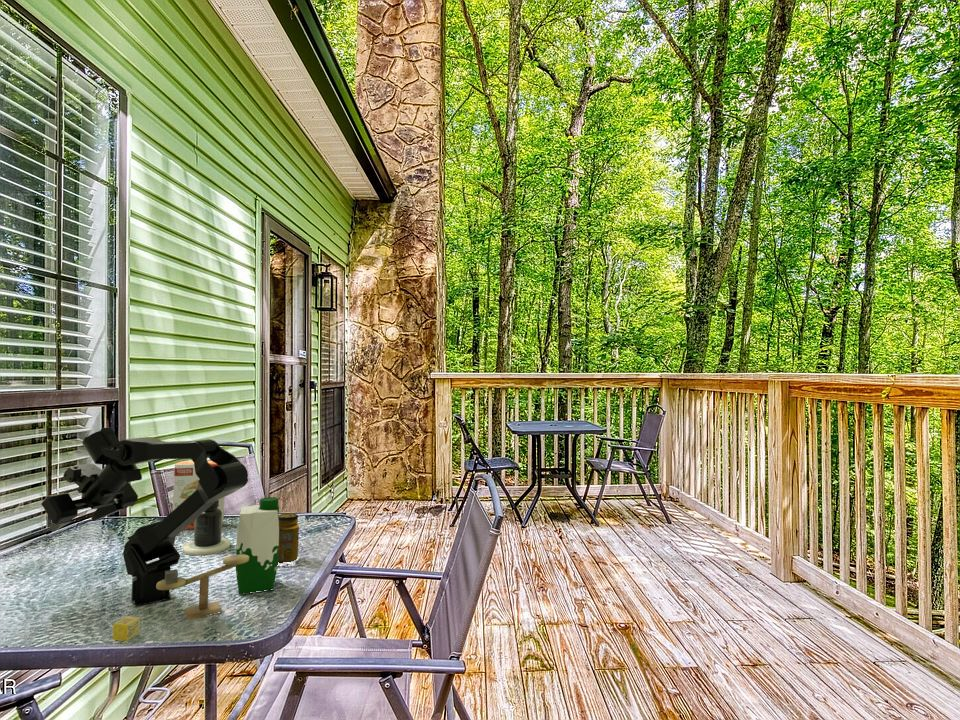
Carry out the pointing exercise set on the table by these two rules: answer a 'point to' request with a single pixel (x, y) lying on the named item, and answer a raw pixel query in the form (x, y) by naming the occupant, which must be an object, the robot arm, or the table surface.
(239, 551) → the milk carton
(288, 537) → the condiment
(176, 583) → the balance
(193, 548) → the dish
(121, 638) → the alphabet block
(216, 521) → the supplement bottle
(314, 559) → the table surface
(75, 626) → the table surface
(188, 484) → the cracker box
